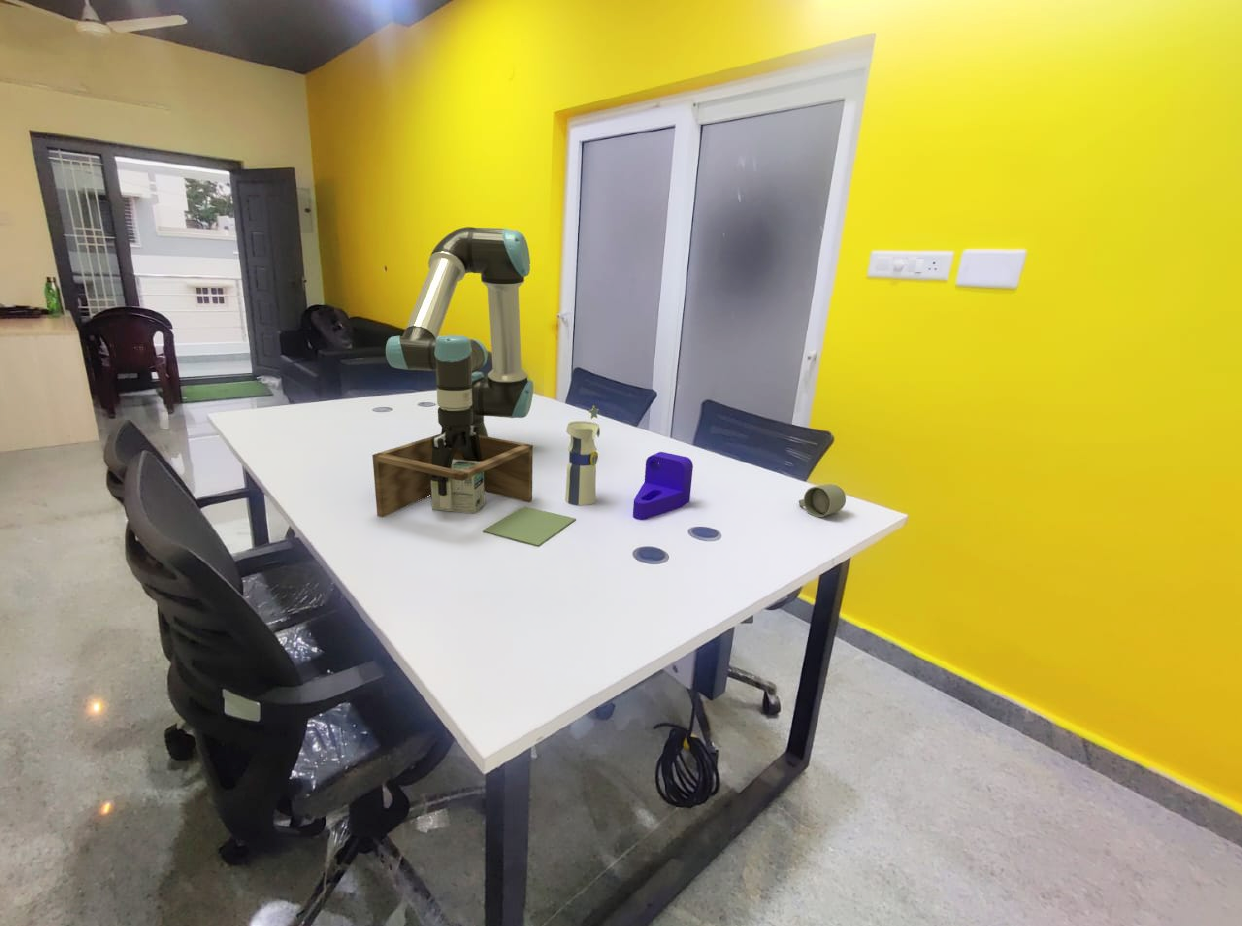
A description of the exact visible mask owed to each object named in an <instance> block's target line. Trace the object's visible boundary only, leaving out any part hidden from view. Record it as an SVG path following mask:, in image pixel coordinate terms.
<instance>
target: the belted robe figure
mask: <svg viewBox="0 0 1242 926" xmlns="http://www.w3.org/2000/svg"><path fill="white" fill-rule="evenodd" d="M599 410H600V409H599V408H596V407H595V405H592V408H591V409H590V410H588V413H589V414H590V420H592V419H593V418H596V419H598V415H597V413H598V412H600V411H599ZM565 431H566V433H567V434H568V435H570V443H569V446H568V447H567V450H568V451H569V453H568V454H569V457H568V458H569V459H568V462H567V466H566V483H565V493H564V494H565V495H564V500H565V502H566V503H568V504H569V505H572V506H573V505H574V506H583V507H584V506H590V505H592V504H595V503H596V501H597V499H596V481H597V480H596V479H597V478H596V475H597V470H596V465H597V463H598V461H599V454H598V452H597V450H598V449H597V448H596V447H597V446H596V445H595V438H596V436H597V438H599V437H600V434H601V432H600V431H601V430H600V425H599V424H598V423H596V422H591V421H586V420H585V421H583V420H581V421H580V420H578V421H572V422H569V423H568V424H567V426H566V430H565Z"/></svg>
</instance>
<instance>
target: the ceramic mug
mask: <svg viewBox="0 0 1242 926" xmlns="http://www.w3.org/2000/svg"><path fill="white" fill-rule="evenodd" d="M846 503H847V496H846V493H845V491H844V489H842V488H841V486H838V485H837V484H831V483H830V484H824V485H816V486H813V487H810V488H808V489H807V491H805V494H804V497H803V498H802V499H799V500H798V505H799V507H804V508H805V510H806V511H807V513H808V514H810V515H811V516H812V517H815V518H823V517H827V516H829V515H832V514H835V513H838V512H839V511H841V510H843V508H844V507H845V506H846Z"/></svg>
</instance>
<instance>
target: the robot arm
mask: <svg viewBox="0 0 1242 926" xmlns="http://www.w3.org/2000/svg"><path fill="white" fill-rule="evenodd" d="M530 259H531V258H530V251H529V246H528V243H527V239H526V238H525V235H524V234H523V233H522V232H521V231H518V230H515V229H514V230H513V229H508V228H493V227H492V228H490V227H488V228H486V227H470V226H467V227H461V228H458V229H455V230H454V231H452V232H450V233H448V234H447V235H446V236H444V237H443V238H442V239H441V240H440V241H439V242H438V243H437V244H436V245H435V247H434V248H433V250H432V251H431V253H430V256H429V258H428V261H427V262H428V263H427V265H428V268H429V270H428V271H427V274H426V277H425V280H424V281H423V285H422V287H421V289H420V292H419V295H418V297H417V299H416V302H415V305H414V307H413V309H412V313H411V315H410V317H409V319H408V322H407V324H406V326H405V327H406V328H405V329H404V332H403V334H402V336H401V335H395V336H394V335H392V336H391V337H388V340H387V342H386V346H385V357H386V360H387V361H388V364H389V365H390V366H391V367H392V368H394V369H401V370H407V371H410V370H411V371H429V372H431V371H432V372H435V374H436V375H435V376H436V377H435V378H436V404H437V406H438V408H437V422H438V424H439V425H440V427H441V432H440V434H441V435H440V436H438V437H432V438H431V443H432V460H431V464H432V465H437V466H441V467H446V468H450V469H451V466H452V462H453V458H454V454H455V453H456V452H457V449H458V448H459V449H460V451H461V454H462V457H463V459H464V461H476V462H482V456H481V449H480V442H479V435H482V436H487V437H489V433H488V430H487V428H486V424H485V417H497V418H506V419H507V418H509V419H524V418H525V417H527V416H528V414H529V413H530V410H531V405H532V401H533V395H534V382H533V381H532V380H531V379H528V373H527V372H526V371H525V370H524V369H523V368H522V346H521V345H522V340H521V318H520V317H521V316H520V287H521V286H522V285H523V284H524V282H525V277H528V276H529V274H530V271H531V269H530V267H531V265H530V264H531V260H530ZM467 273H468V274H470V273H471V274H472V273H473V274H480V278H481V280H480V281H481V283H482V284H483V285H485V286H486V288H487V302H488V316H489V317H488V318H489V331H490V333H489V334H490V347H491V349H490V350H491V351H490V352H491V363H492V366H491V367H492V369H491V370H490V371H489V372H488V373H487V377H485V375H484V373H483V372H482V371H480V370H481V369H482V368H483V367H484V366H485V365H486V364H487V362H488V361H487V360H488V358H489V357H488V356H489V355H488V354H489V353H488V350H487V347H486V346H485V344H484V343H482V342H481V340H478V339H474V338H469V337H468V336H465V335H458V334H457V335H456V334H448V335H447V334H445V335H440V332H441V329H442V327H443V323H444V321H445V318H446V315H447V313H448V310H449V308H450V304H451V302H452V298H453V296H454V293H455V290H456V287H457V285H458V282H460V281H461V280H463V279H464V277H465V276H466V274H467ZM447 447H449V448H452V449H448V448H447ZM476 458H477V460H476ZM430 480H431V481H435V482H438V494H439V495H440V507H442V508H446V509H452V499H451V482H450V481H448V478H447V477H443V476H439V475H434V474H430Z"/></svg>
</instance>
